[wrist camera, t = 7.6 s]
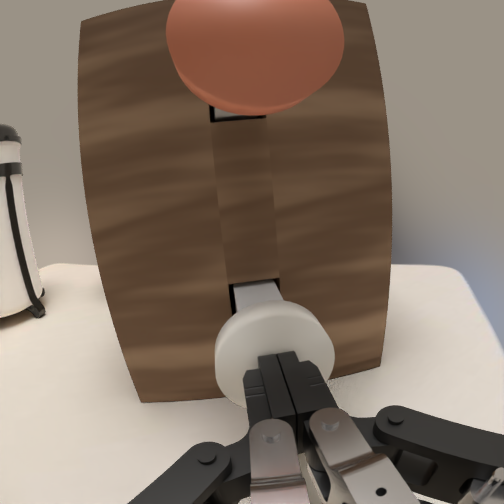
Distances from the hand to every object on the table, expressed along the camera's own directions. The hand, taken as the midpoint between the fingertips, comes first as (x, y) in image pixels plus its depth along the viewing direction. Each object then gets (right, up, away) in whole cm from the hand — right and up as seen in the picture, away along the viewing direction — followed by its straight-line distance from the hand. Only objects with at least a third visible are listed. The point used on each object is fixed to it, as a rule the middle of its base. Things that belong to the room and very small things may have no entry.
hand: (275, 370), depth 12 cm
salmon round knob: (-1, +10, +2) cm, 11 cm away
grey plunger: (-1, -1, +7) cm, 7 cm away
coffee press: (-37, -4, +24) cm, 44 cm away
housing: (-1, -3, +15) cm, 15 cm away
